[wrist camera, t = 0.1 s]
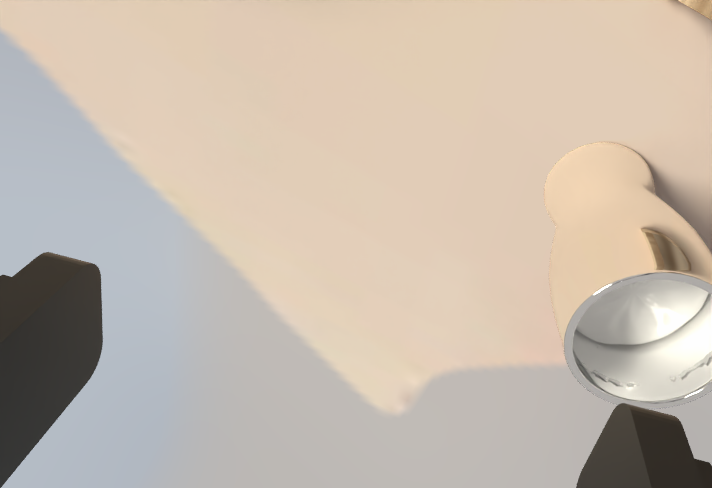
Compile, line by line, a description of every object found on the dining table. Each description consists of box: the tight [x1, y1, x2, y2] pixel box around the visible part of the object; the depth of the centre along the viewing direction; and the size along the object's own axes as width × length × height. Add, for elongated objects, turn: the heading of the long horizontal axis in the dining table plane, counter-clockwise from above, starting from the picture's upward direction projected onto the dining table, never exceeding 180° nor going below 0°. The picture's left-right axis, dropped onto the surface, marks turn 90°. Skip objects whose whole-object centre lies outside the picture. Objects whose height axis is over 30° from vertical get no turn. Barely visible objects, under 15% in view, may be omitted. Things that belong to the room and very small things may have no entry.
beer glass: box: [544, 142, 712, 409], centre depth 31 cm, size 7×7×15 cm
